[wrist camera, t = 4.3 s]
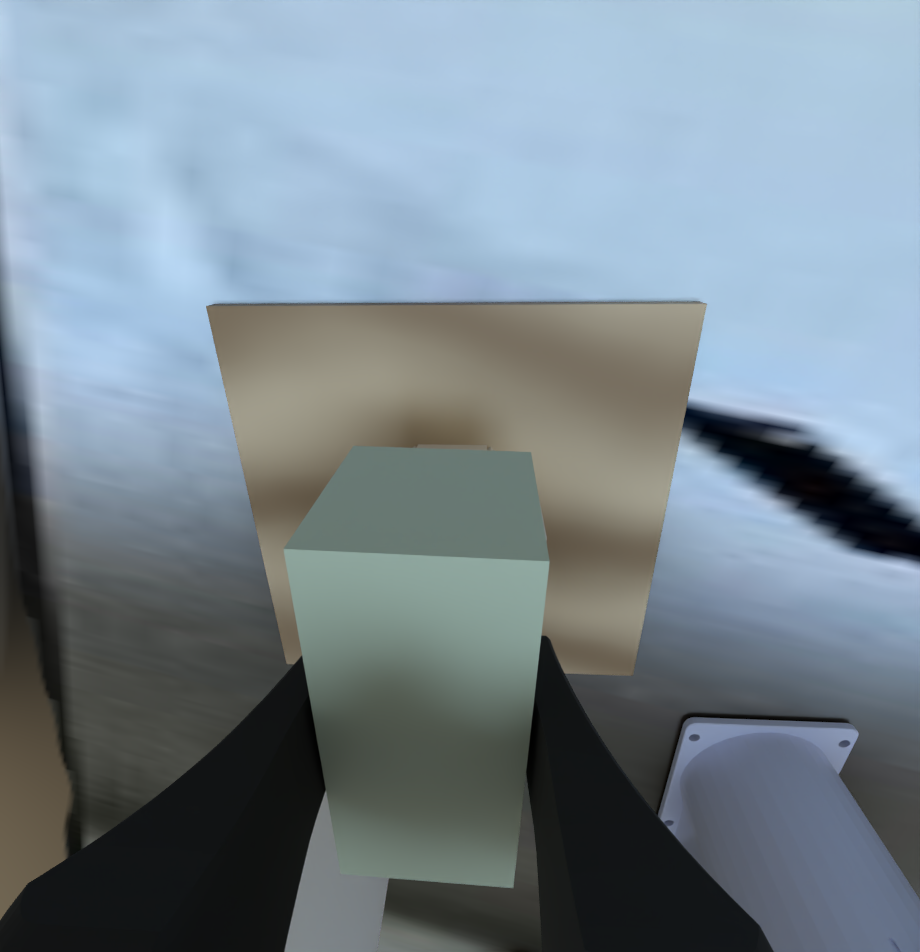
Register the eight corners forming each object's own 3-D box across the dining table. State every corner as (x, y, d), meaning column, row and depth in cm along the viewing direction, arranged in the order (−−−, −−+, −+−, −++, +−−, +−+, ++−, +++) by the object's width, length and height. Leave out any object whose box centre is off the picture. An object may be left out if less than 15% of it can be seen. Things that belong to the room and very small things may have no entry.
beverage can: (234, 721, 26) (54, 1064, 15) (378, 702, 25) (293, 1061, 14) (293, 812, 29) (179, 1146, 18) (423, 799, 28) (381, 1149, 17)
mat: (629, 665, 23) (632, 675, 22) (291, 654, 24) (286, 664, 23) (699, 301, 16) (706, 303, 15) (215, 303, 17) (206, 306, 16)
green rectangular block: (508, 727, 16) (512, 888, 12) (378, 718, 17) (340, 873, 13) (531, 452, 12) (549, 561, 8) (353, 445, 12) (283, 548, 8)
